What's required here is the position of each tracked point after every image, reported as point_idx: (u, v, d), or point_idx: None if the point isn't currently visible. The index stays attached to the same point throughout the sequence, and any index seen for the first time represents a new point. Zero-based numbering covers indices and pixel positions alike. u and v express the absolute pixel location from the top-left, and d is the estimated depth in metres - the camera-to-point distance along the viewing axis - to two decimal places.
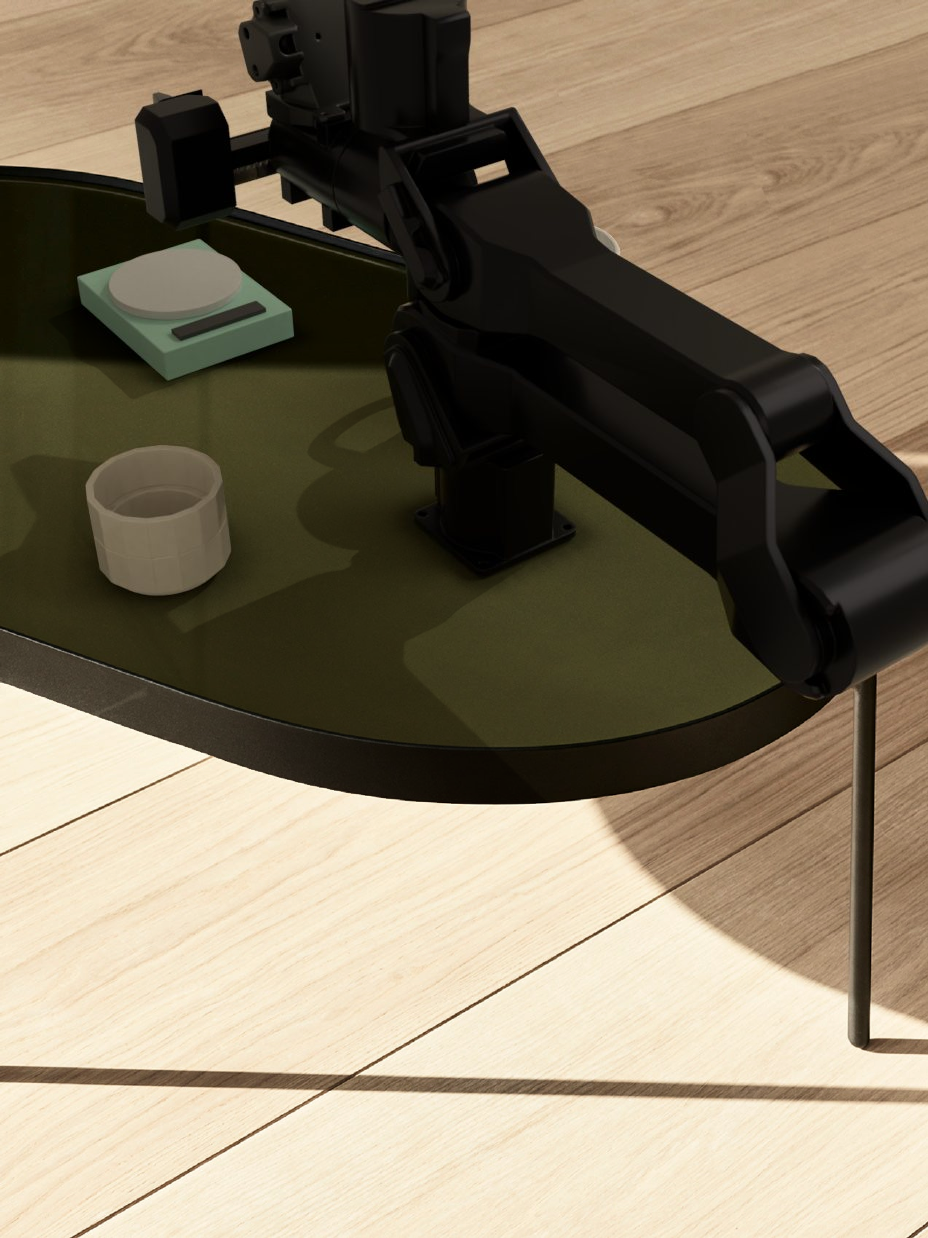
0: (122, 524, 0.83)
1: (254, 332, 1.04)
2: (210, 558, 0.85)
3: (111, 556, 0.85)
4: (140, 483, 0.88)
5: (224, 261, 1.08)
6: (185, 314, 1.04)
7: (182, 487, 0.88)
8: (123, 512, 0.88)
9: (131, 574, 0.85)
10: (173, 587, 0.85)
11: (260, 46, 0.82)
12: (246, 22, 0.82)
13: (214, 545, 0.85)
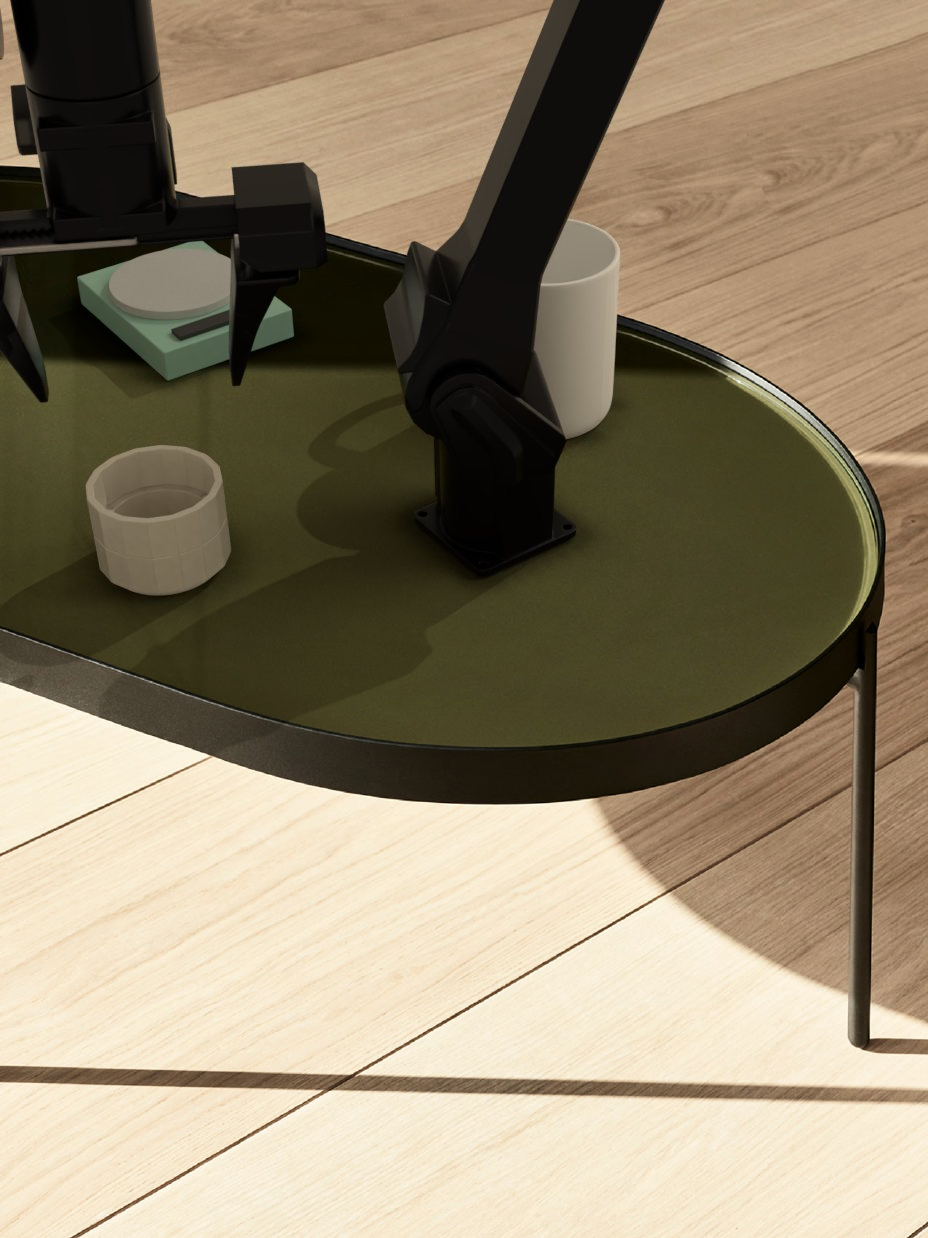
0: (122, 524, 0.83)
1: None
2: (210, 558, 0.85)
3: (111, 556, 0.85)
4: (140, 483, 0.88)
5: (224, 261, 1.08)
6: (185, 314, 1.04)
7: (182, 487, 0.88)
8: (123, 512, 0.88)
9: (131, 574, 0.85)
10: (173, 587, 0.85)
11: None
12: None
13: (214, 545, 0.85)
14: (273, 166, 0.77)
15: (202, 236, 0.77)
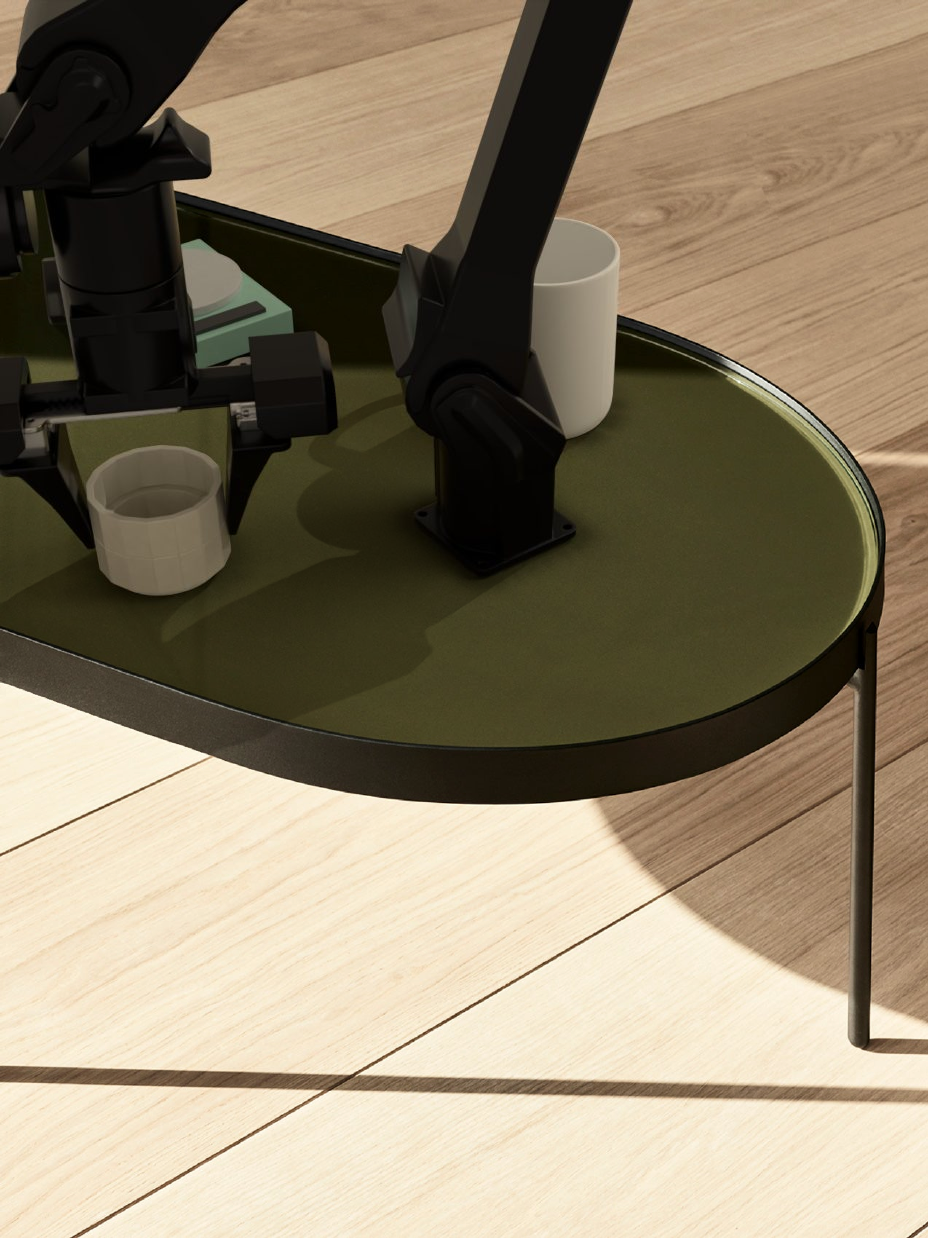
0: (122, 524, 0.83)
1: (254, 332, 1.04)
2: (210, 558, 0.85)
3: (111, 556, 0.85)
4: (140, 483, 0.88)
5: (224, 261, 1.08)
6: None
7: (182, 487, 0.88)
8: (123, 512, 0.88)
9: (131, 574, 0.85)
10: (173, 587, 0.85)
11: None
12: None
13: (214, 545, 0.85)
14: (287, 336, 0.83)
15: (221, 402, 0.82)
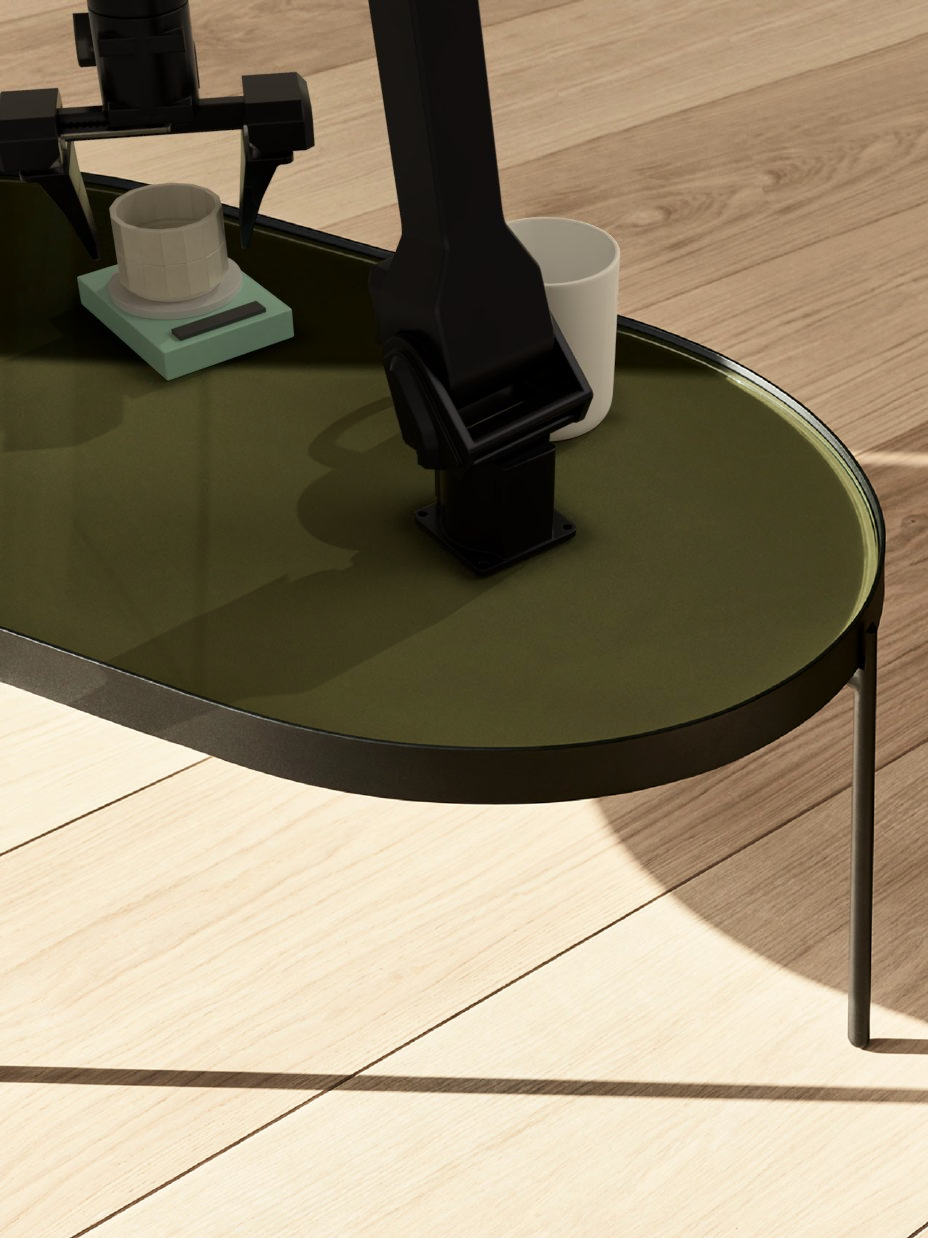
0: (139, 234, 1.01)
1: (254, 332, 1.04)
2: (211, 270, 1.04)
3: (130, 266, 1.03)
4: (154, 215, 1.07)
5: None
6: (185, 314, 1.04)
7: (189, 220, 1.07)
8: None
9: (146, 280, 1.03)
10: (181, 293, 1.04)
11: None
12: None
13: (215, 259, 1.04)
14: (273, 75, 1.01)
15: (219, 127, 1.01)
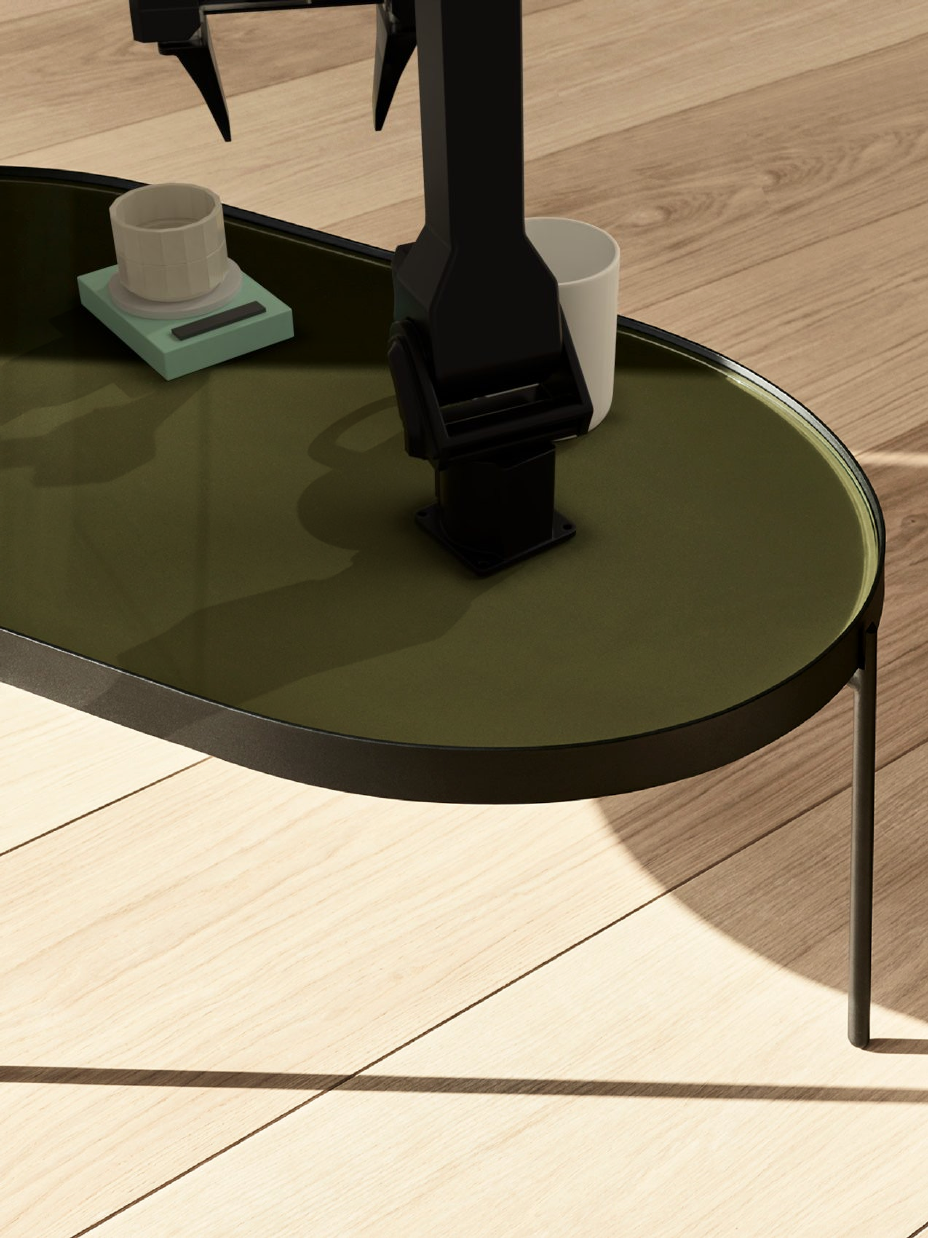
0: (139, 234, 1.01)
1: (254, 332, 1.04)
2: (211, 270, 1.04)
3: (130, 266, 1.03)
4: (154, 215, 1.07)
5: None
6: (185, 314, 1.04)
7: (189, 220, 1.07)
8: None
9: (146, 280, 1.03)
10: (181, 293, 1.04)
11: None
12: None
13: (215, 259, 1.04)
14: None
15: (358, 1, 0.98)
